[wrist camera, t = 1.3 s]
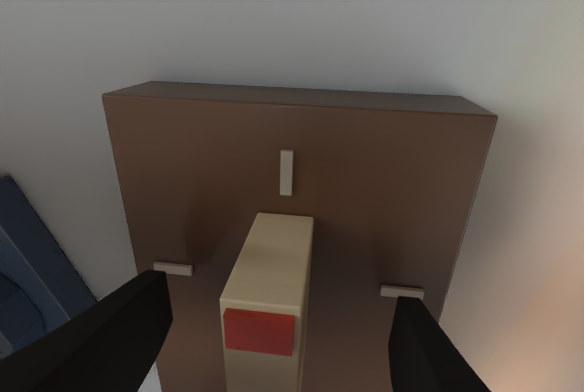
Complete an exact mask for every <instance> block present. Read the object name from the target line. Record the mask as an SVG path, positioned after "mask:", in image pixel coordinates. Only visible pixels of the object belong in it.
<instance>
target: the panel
mask: <svg viewBox="0 0 584 392" xmlns="http://www.w3.org/2000/svg"><path fill="white" fill-rule="evenodd" d="M102 101H103V106H104V110H105V115H106V120H107V125H108V130H109V135H110V140H111V145H112V150H113V155H114V159H115V164H116V169H117V174H118V179H119V184H120V189H121V194H122V199H123V203H124V208H125V213H126V218H127V223H128V228H129V233H130V238H131V243H132V248H133V252H134V257H135V262H136V267H137V272H138V275H139V274H141V273H142V272H144V271H145V270H147V269H149V270H159V271H166V277H167V283H168V289H169V295H170V301H171V308H172V314H173V322H172V324H171V327H170V329H169V332H168V334H167V337H166V339H165V341H164V344H163V346H162V348H161V351H160V352H159V354H158V356H157V358H156V365H157V370H158V375H159V380H160V385H161V389H162V392H227V387H226V374H225V362H224V349H223V337H222V324H221V311H220V297H221V295H222V293H223V291H224V288H225V286H226V284H227V282H228V279H229V277H230V275H231V272H232V270H233V268H234V266H235V263H236V261H237V259H238V257H239V254H240V252H241V250H242V248H243V245H244V243H245V241H246V239H247V236H248V234H249V232H250V230H251V227H252V225H253V223H254V221H255V218H256V216H257V214H258V213H270V214H282V215H294V216H305V217H313V218H314V226H313V241H312V257H311V272H310V287H309V302H308V317H307V332H306V343H305V353H304V362H303V372H302V381H301V391H300V392H393V389H392V384H391V377H390V366H389V354H388V342H389V337H390V332H391V327H392V323H393V318H394V313H395V309H396V304H397V299H398V296H407V297H416V298H420V299H421V300H422V301H423V303H424V304H425V306H426V307H427V309H428V310H429V312H430V313H431V314H432V316H433V317H434V319H435V320H436V322H437V323H439V319H440V316H441V312H442V309H443V305H444V302H445V298H446V295H447V292H448V288H449V285H450V281H451V278H452V274H453V271H454V267H455V264H456V260H457V257H458V254H459V250H460V247H461V243H462V240H463V236H464V233H465V229H466V226H467V222H468V219H469V216H470V212H471V209H472V205H473V202H474V198H475V195H476V191H477V188H478V184H479V181H480V177H481V174H482V171H483V167H484V164H485V160H486V157H487V153H488V150H489V146H490V143H491V139H492V136H493V133H494V129H495V126H496V122H497V119H498V116H497V115H495V114H493V113H491V112H489V111H488V110H486V109H484V108H482V107H480V106H478V105H476V104H474V103H473V102H471V101H469V100H467V99H465V98H463V97H461V96H445V95H425V94H405V93H385V92H364V91H344V90H324V89H304V88H284V87H264V86H243V85H223V84H203V83H183V82H163V81H149V82H146V83H142V84H138V85H134V86H131V87H127V88H123V89H119V90H116V91H112V92H108V93H104V94H102Z"/></svg>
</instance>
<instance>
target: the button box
mask: <svg viewBox="0 0 584 392" xmlns="http://www.w3.org/2000/svg"><path fill="white" fill-rule="evenodd" d="M96 303H97V301H96V300H95V298H94V297H93V296H92V294H91V293H90V291H89V290H88V288H87V287H86V285H85V284H84V282H83V281H82V280H81V278H80V277H79V275H78V274H77V272H76V271H75V269H74V268H73V267H72V265H71V264H70V262H69V261H68V259H67V258H66V256H65V255H64V254H63V252H62V251H61V249H60V248H59V246H58V245H57V243H56V242H55V240H54V239H53V238H52V236H51V235H50V233H49V232H48V230H47V229H46V227H45V226H44V225H43V223H42V222H41V220H40V219H39V217H38V216H37V214H36V213H35V212H34V210H33V209H32V207H31V206H30V204H29V203H28V201H27V200H26V199H25V197H24V196H23V194H22V193H21V191H20V190H19V188H18V187H17V185H16V184H15V183H14V181H13V180H12V178H11V177H10V176H6V177H3V178H0V360H1V359H3V358H5V357H7V356H8V355H10V354H12V353H14V352H16V351H18V350H20V349H22V348H23V347H25V346H27V345H29V344H31V343H32V342H34V341H36V340H38V339H39V338H41V337H43V336H45V335H46V334H48V333H50V332H51V331H53V330H55V329H56V328H58V327H59V326H61V325H63V324H64V323H66V322H67V321H69V320H71V319H72V318H74V317H76V316H77V315H79V314H80V313H82V312H84V311H85V310H87V309H88V308H90V307H91V306H93V305H94V304H96Z"/></svg>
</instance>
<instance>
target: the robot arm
mask: <svg viewBox="0 0 584 392" xmlns="http://www.w3.org/2000/svg"><path fill="white" fill-rule="evenodd" d="M172 322H173V314H172V308H171V301H170V295H169V289H168V283H167V277H166V271H159V270H149V269H147V270H145V271H144V272H142V273H141V274H139V275H138V276H136V277H134V278H133V279H131V280H130V281H128V282H127V283H126V284H124V285H123V286H121V287H120V288H118V289H117V290H115V291H114V292H112V293H111V294H109V295H108V296H106V297H105V298H103V299H102V300H100V301H99V302H97V303H96V304H94V305H93V306H91V307H90V308H88V309H87V310H85V311H84V312H82V313H80V314H79V315H77V316H76V317H74V318H72V319H71V320H69V321H67V322H66V323H64V324H63V325H61V326H59V327H58V328H56V329H55V330H53V331H51V332H50V333H48V334H46V335H45V336H43V337H41V338H39V339H38V340H36V341H34V342H32V343H31V344H29V345H27V346H25V347H23V348H22V349H20V350H18V351H16V352H14V353H12V354H10V355H8V356H7V357H5V358H3V359H1V360H0V392H137V391H138V390H139V388H140V386H141V384H142V383H143V381H144V379H145V377H146V376H147V374H148V372H149V370H150V369H151V367H152V365H153V363H154V362H155V360H156V358H157V356H158V354H159V352H160V351H161V348H162V346H163V344H164V341H165V339H166V337H167V334H168V332H169V329H170V327H171V324H172ZM388 354H389V366H390V377H391V384H392V389H393V392H491V391H490V390H489V389H488V387H487V386H486V385H485V384H484V383H483V381H482V380H481V379H480V378H479V377H478V375H477V374H476V373H475V372H474V371H473V369H472V368H471V367H470V366H469V364H468V363H467V362H466V360H465V359H464V358H463V357H462V355H461V354H460V353H459V351H458V350H457V349H456V348H455V346H454V345H453V344H452V342H451V341H450V340H449V338H448V337H447V335H446V334H445V333H444V331H443V330H442V329H441V327H440V326H439V324H438V323H437V322H436V320H435V319H434V317H433V316H432V314H431V313H430V312H429V310H428V309H427V307H426V306H425V304H424V303H423V301H422V300H421V299H420V298H416V297H407V296H398V299H397V304H396V309H395V313H394V318H393V323H392V327H391V332H390V337H389V342H388Z"/></svg>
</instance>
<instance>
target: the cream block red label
mask: <svg viewBox="0 0 584 392" xmlns="http://www.w3.org/2000/svg"><path fill="white" fill-rule="evenodd" d="M313 226H314V218H313V217H305V216H294V215H282V214H270V213H258V214H257V216H256V218H255V221H254V223H253V225H252V227H251V230H250V232H249V234H248V236H247V239H246V241H245V243H244V245H243V248H242V250H241V252H240V254H239V257H238V259H237V261H236V263H235V266H234V268H233V270H232V272H231V275H230V277H229V279H228V282H227V284H226V286H225V288H224V291H223V293H222V295H221V297H220V311H221V324H222V337H223V349H224V362H225V374H226V387H227V392H300V391H301V381H302V372H303V362H304V353H305V343H306V332H307V317H308V302H309V287H310V272H311V257H312V241H313Z"/></svg>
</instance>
